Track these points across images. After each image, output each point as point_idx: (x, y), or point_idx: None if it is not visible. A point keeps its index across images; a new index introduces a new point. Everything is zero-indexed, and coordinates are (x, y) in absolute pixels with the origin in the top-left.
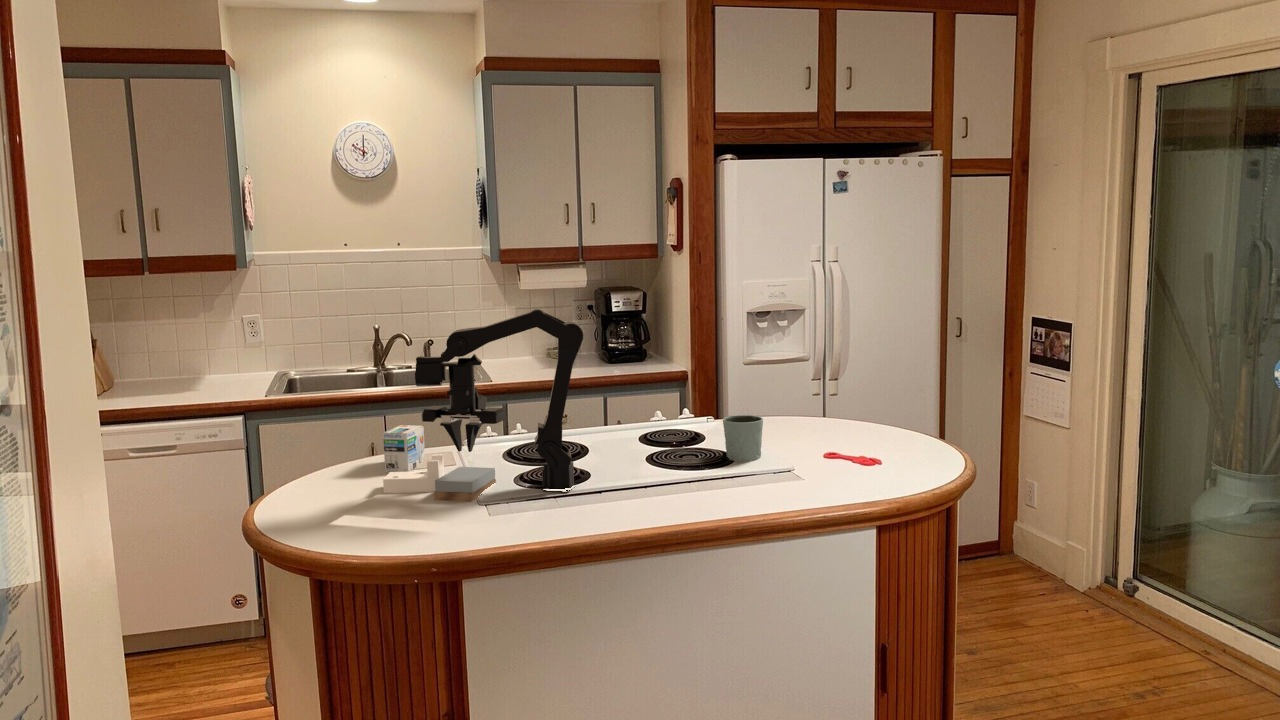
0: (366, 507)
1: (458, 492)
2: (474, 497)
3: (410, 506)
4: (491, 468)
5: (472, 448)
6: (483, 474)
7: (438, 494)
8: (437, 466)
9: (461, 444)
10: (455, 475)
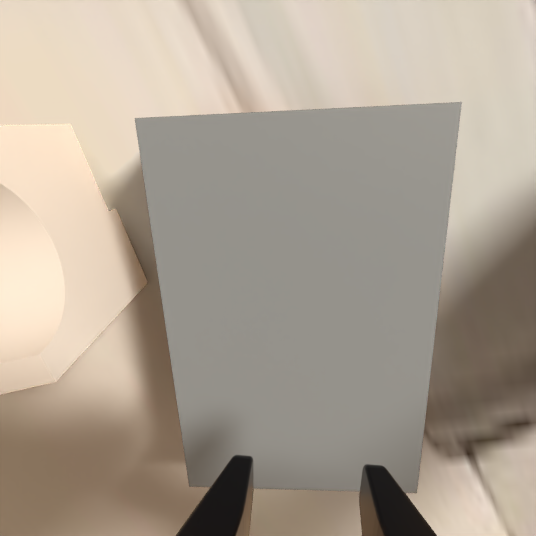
0: (17, 514)
1: None
2: None
3: (163, 493)
4: (436, 128)
5: (400, 495)
6: (429, 327)
7: None
8: (73, 357)
9: (244, 519)
10: (246, 375)
